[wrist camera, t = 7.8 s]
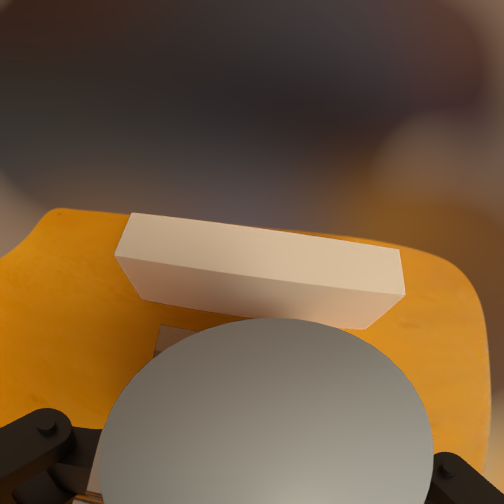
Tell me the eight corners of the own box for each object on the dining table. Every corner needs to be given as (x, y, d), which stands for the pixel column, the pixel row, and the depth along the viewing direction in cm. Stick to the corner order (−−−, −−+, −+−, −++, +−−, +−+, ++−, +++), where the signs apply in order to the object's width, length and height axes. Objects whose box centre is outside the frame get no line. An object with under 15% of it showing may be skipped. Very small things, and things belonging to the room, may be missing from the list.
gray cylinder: (202, 460, 11) (92, 567, 1) (213, 393, 13) (134, 294, 3) (277, 469, 11) (404, 583, 1) (285, 402, 13) (433, 328, 3)
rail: (141, 299, 20) (113, 255, 15) (153, 263, 21) (131, 212, 16) (364, 329, 19) (405, 295, 14) (363, 292, 21) (398, 249, 16)
